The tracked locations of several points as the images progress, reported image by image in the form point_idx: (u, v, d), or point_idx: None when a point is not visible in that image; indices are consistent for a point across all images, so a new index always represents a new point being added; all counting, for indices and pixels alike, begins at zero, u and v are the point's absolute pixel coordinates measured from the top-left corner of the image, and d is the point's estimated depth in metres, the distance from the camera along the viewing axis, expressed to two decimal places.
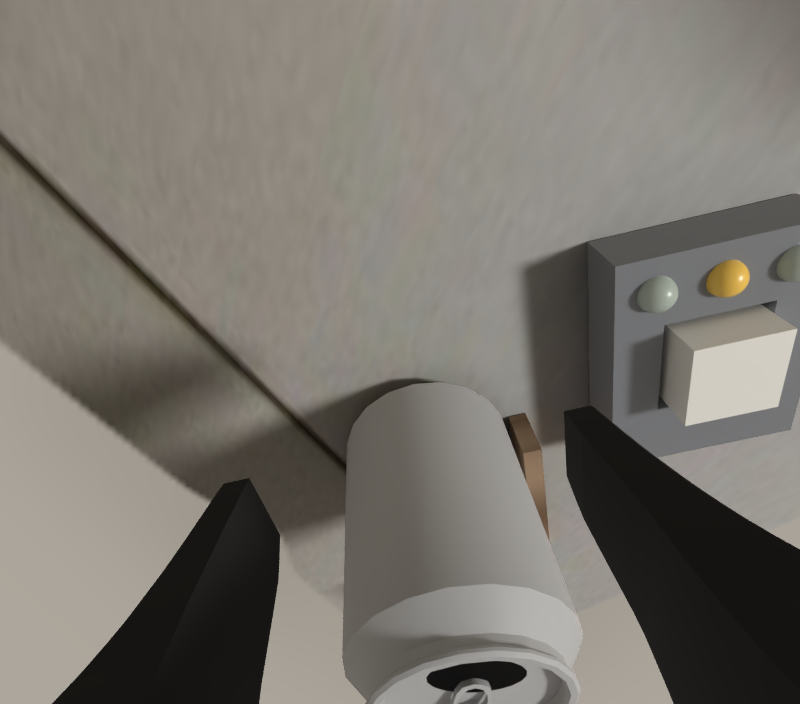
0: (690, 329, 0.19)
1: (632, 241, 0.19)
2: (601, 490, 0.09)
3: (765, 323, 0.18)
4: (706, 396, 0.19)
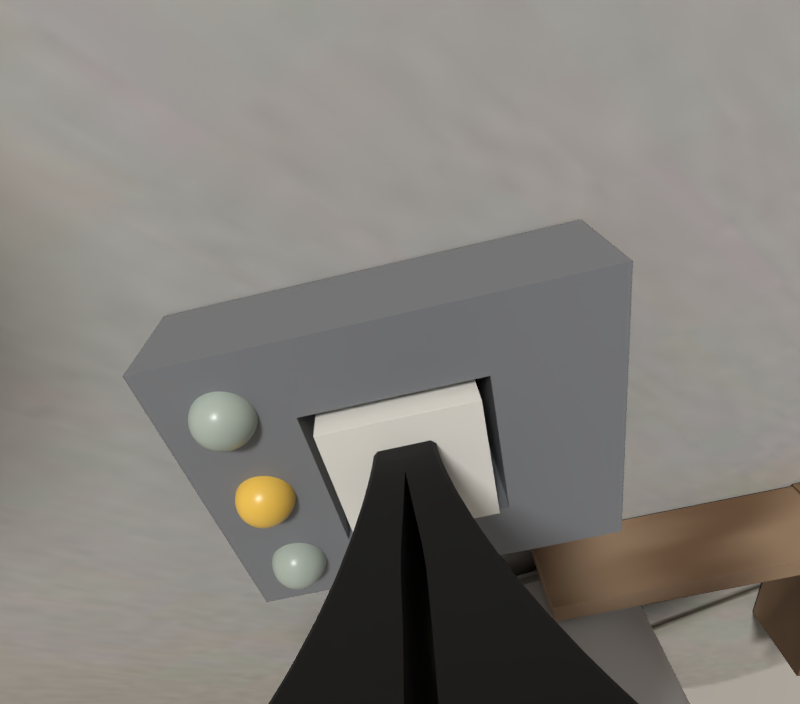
0: None
1: None
2: None
3: None
4: None
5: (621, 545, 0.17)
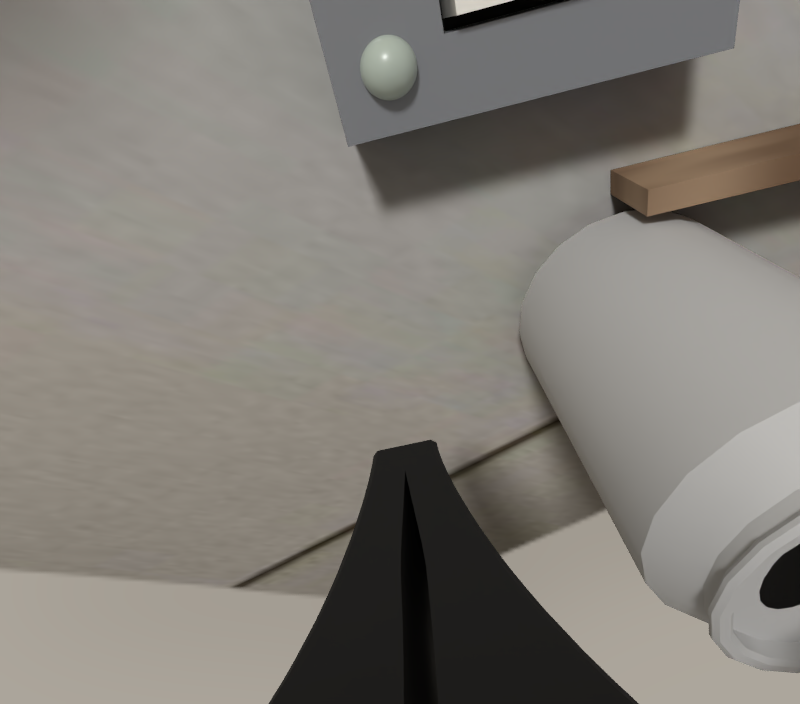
0: None
1: None
2: None
3: None
4: None
5: (713, 154, 0.15)
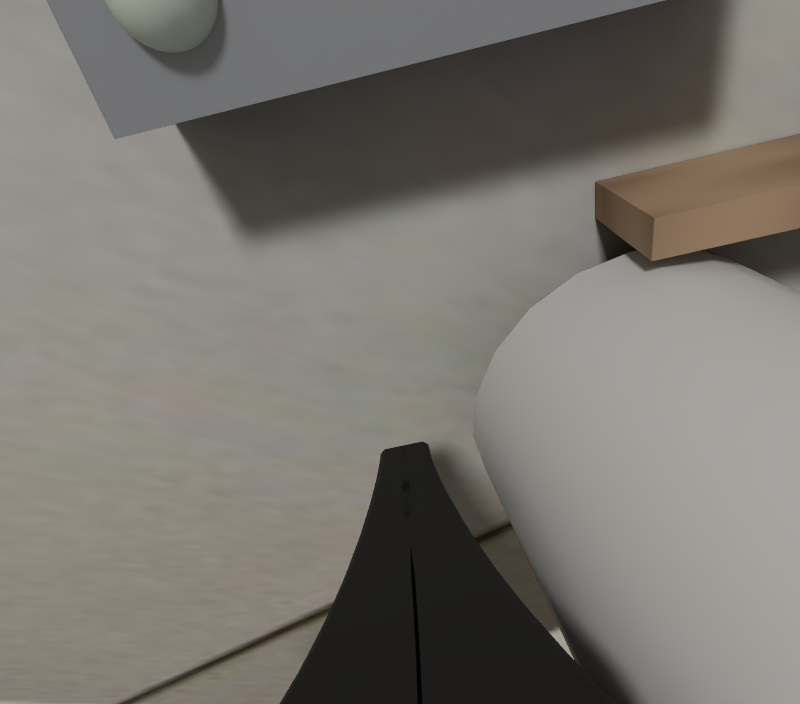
0: None
1: None
2: None
3: None
4: None
5: (758, 159, 0.10)
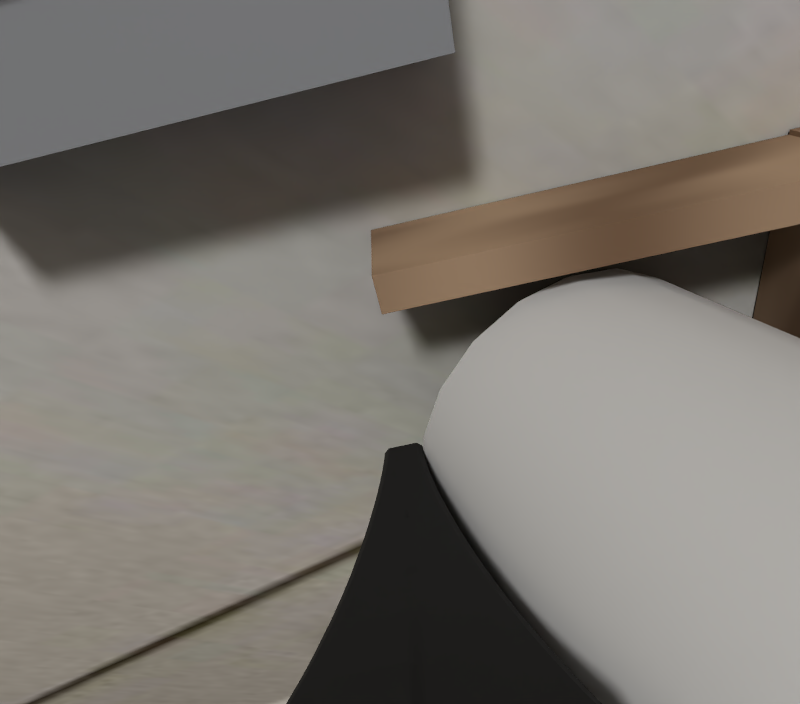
0: None
1: None
2: None
3: None
4: None
5: (505, 214, 0.10)
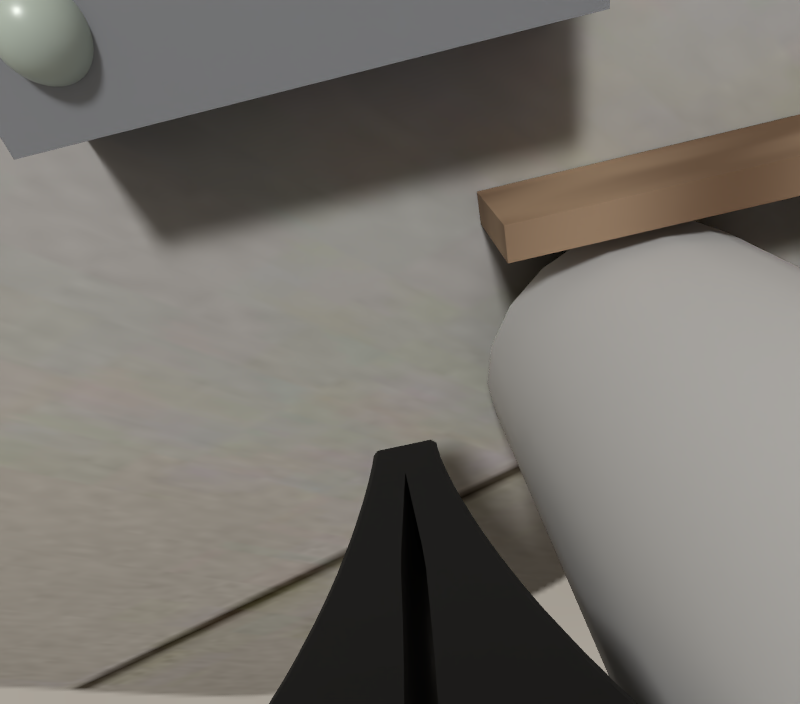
0: None
1: None
2: None
3: None
4: None
5: (612, 172, 0.11)
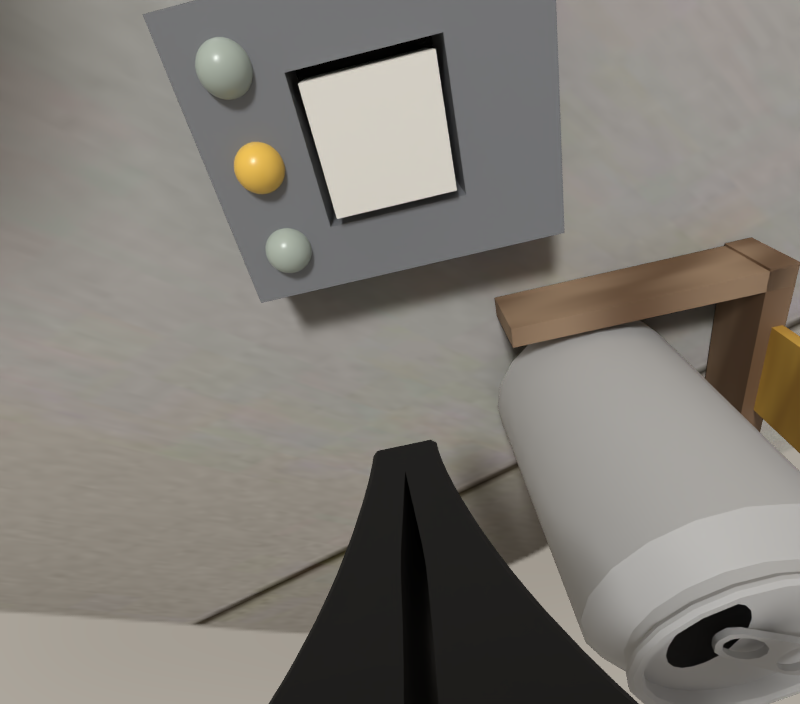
0: None
1: None
2: None
3: None
4: (407, 178, 0.14)
5: (573, 292, 0.19)
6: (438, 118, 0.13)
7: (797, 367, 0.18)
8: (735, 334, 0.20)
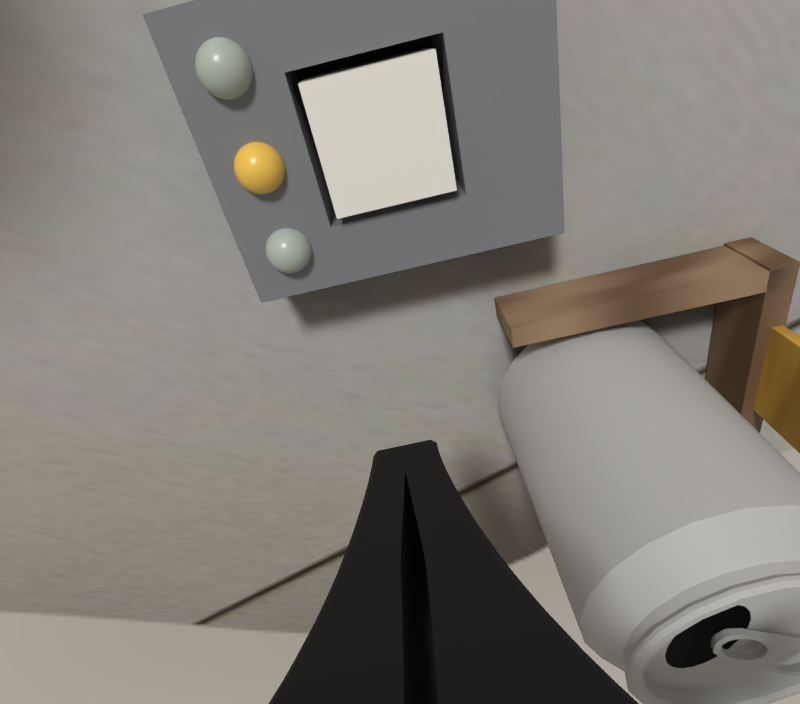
0: None
1: None
2: None
3: None
4: (407, 178, 0.14)
5: (573, 292, 0.19)
6: (438, 118, 0.13)
7: (797, 367, 0.18)
8: (735, 334, 0.20)
